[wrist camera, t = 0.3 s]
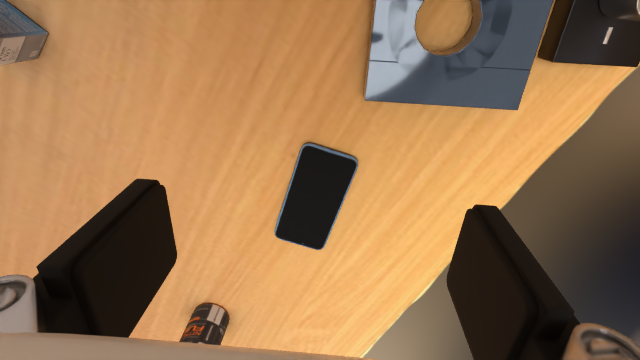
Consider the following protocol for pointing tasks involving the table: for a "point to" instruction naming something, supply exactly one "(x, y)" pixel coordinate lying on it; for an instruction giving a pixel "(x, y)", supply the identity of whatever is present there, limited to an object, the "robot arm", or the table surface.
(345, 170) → the smartphone
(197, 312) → the pill bottle
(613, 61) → the black dial plate
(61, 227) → the table surface
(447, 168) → the table surface
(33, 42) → the label tape box
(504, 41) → the blue-grey patterned panel
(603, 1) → the rotary control knob
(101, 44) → the table surface
